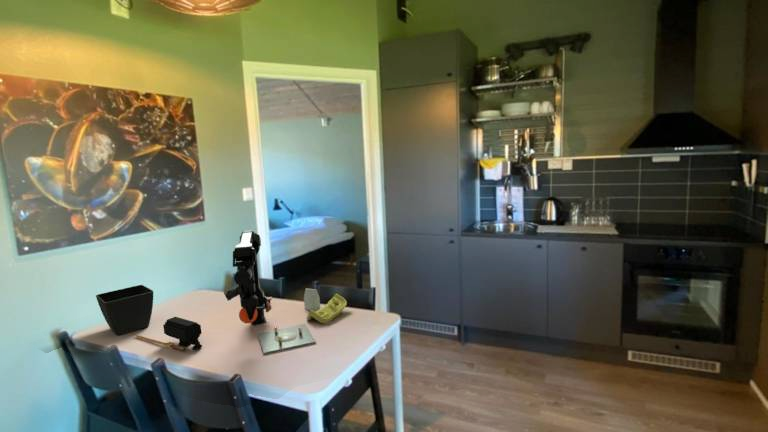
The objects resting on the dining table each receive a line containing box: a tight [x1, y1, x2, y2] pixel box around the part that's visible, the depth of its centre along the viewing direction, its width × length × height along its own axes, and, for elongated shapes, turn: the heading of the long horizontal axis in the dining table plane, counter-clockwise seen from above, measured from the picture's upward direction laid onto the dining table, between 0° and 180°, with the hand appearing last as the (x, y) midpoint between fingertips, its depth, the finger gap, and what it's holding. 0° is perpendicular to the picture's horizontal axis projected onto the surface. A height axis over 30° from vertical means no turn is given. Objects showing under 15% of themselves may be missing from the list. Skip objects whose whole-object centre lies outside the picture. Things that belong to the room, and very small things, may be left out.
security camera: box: [163, 316, 203, 351], centre depth 166 cm, size 7×18×10 cm, turn 58°
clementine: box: [238, 307, 259, 324], centre depth 161 cm, size 8×7×7 cm
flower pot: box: [95, 284, 154, 336], centre depth 187 cm, size 19×19×17 cm
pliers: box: [265, 296, 273, 312], centre depth 211 cm, size 12×20×3 cm, turn 178°
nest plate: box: [257, 323, 317, 356], centre depth 167 cm, size 20×20×1 cm
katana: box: [134, 333, 187, 351], centre depth 168 cm, size 1×35×3 cm, turn 60°
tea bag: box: [303, 288, 321, 312], centre depth 201 cm, size 4×7×10 cm, turn 61°
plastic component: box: [306, 293, 348, 325], centre depth 191 cm, size 20×7×10 cm
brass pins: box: [273, 326, 302, 344], centre depth 168 cm, size 12×10×3 cm
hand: (250, 316), depth 161 cm, fingers closed on clementine, 7 cm apart
